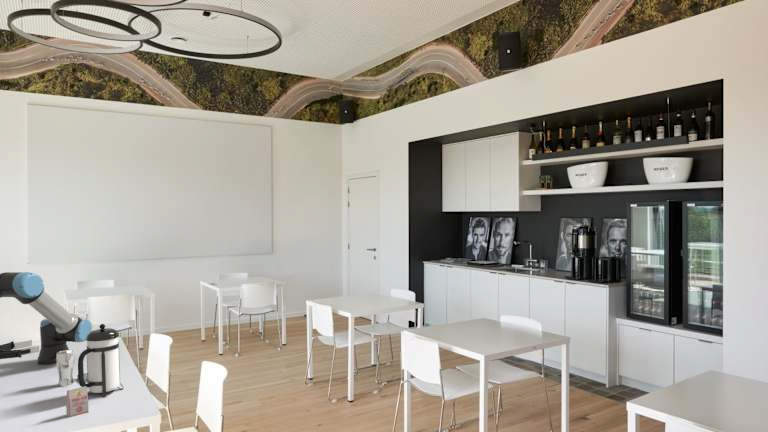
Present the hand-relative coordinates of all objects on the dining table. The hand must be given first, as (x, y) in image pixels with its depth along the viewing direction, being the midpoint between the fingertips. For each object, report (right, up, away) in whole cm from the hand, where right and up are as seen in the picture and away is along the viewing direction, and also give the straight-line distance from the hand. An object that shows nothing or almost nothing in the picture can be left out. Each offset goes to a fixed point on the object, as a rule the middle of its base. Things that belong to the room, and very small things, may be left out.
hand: (35, 345), depth 233 cm
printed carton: (+36, -20, -28) cm, 50 cm away
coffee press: (+33, -19, -6) cm, 39 cm away
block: (+14, -18, +11) cm, 25 cm away
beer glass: (+10, -20, +7) cm, 23 cm away
